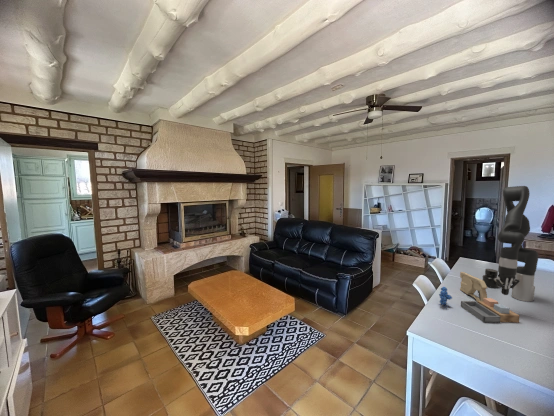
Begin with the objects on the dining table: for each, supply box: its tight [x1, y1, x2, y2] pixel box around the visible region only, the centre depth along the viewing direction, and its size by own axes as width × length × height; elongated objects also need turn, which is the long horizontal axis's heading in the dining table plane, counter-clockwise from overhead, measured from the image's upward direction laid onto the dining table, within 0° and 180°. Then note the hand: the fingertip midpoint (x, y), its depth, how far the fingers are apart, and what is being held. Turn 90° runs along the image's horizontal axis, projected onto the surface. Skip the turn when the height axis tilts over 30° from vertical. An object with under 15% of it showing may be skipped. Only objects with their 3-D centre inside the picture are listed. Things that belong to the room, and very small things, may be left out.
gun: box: [459, 271, 488, 303], centre depth 152 cm, size 24×3×15 cm, turn 169°
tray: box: [460, 300, 501, 324], centre depth 133 cm, size 8×17×4 cm, turn 177°
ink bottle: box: [482, 268, 500, 289], centre depth 170 cm, size 10×9×12 cm
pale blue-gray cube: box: [494, 303, 511, 314], centre depth 128 cm, size 4×4×3 cm
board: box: [477, 301, 520, 323], centre depth 132 cm, size 10×15×4 cm, turn 177°
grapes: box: [438, 286, 453, 306], centre depth 142 cm, size 12×7×12 cm, turn 140°
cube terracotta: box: [483, 297, 499, 307], centre depth 135 cm, size 4×4×3 cm
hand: (504, 294), depth 135 cm, fingers closed
